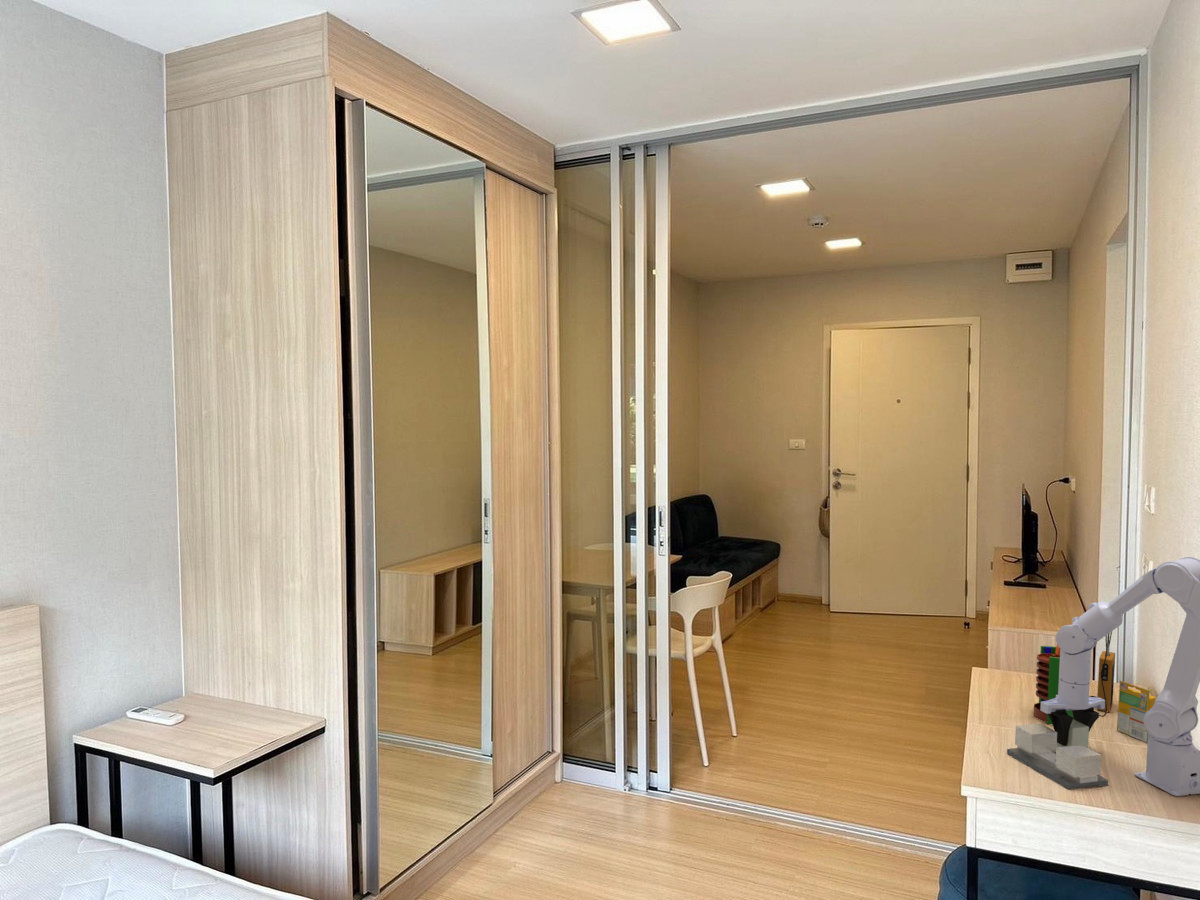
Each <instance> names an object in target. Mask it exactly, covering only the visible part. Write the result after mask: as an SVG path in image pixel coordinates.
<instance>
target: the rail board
mask: <svg viewBox="0 0 1200 900" xmlns="http://www.w3.org/2000/svg"><path fill="white" fill-rule="evenodd" d="M1014 745H1015V746H1017V747H1015V748H1014V747H1012V748H1007V749H1006V754H1007V755H1009V756H1010V757H1012V758H1014V759H1016V760H1018V761H1019V762H1021V763H1022V764H1024V765H1026V766H1028V767H1029V768H1031V769H1033V770H1035V771H1036V772H1037V773H1040V774H1042V775H1043V776H1045V777H1047V778H1048V779H1050V780H1051V781H1053V782H1055V783H1057V784H1058V785H1060V786H1062V787H1063V788H1065V789H1067V790H1076V789H1077V790H1078V789H1084V788H1085V787H1087V788H1093V787H1094V786H1096V787H1103V786H1108V785H1109V779H1107V778H1106V777H1103V776H1102V775H1101V770H1102V769H1101V768H1102V754H1101V753H1098V752H1097V751H1095V750H1093V749H1091V748H1089V747H1088V748H1087V747H1085V746H1083V745H1077V746H1066V747H1057V748H1056V745H1057V732H1056V731H1054V729H1052V728H1049V727H1047V726H1046V725H1043V724H1042V723H1032V724H1031V723H1030V724H1021V725H1015V735H1014Z"/></svg>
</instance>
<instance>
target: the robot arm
mask: <svg viewBox="0 0 1200 900" xmlns="http://www.w3.org/2000/svg"><path fill="white" fill-rule="evenodd" d="M1163 593H1165V594H1166V595H1167V596H1168V597H1170V598H1171V599H1173V600H1174V601H1175V602H1177V603H1178V604H1179V606H1180V607H1181V609H1182V610H1183V611H1184V612H1185V614H1186V615H1185V618H1184V622H1183V625H1182V629H1181V630H1180V631H1181V632H1180V634H1179V638H1178V639H1177V640H1178V641H1177V645H1176V648H1175V650H1174V654H1173V658H1172V660H1171V664H1170V667H1169V670H1168V673H1167V676H1166V680H1165V682H1164V685H1163V688H1162V690H1161V691H1160V693H1159V694H1158V696H1157V698H1156V700H1155V703H1154V706H1153V707H1152V708H1151V709H1150V710H1149V711H1147V712H1146V714H1145V716H1144V726H1145V728H1146V730H1147V732H1148V742H1147V744H1146V745H1147V748H1146V749H1147V750H1146V765H1145V771H1141V772H1135V773H1134V776H1135V777H1137V778H1139V779H1140V780H1143V781H1144V782H1147V783H1149V784H1151V785H1153V786H1155V787H1157V788H1158V789H1161V790H1163V791H1165V792H1166V793H1168V794H1171V795H1172V796H1174V797H1182V796H1189V794H1191V795H1198V794H1200V750H1199V748H1197V747H1196V746H1195V745H1194V743H1193V735H1192V734H1191V731H1193V730H1195V729H1196V727H1197V726H1198V723H1199V716H1198V715H1199V714H1198V713H1197V712H1198V711H1197V708H1198V704H1199V701H1198V698H1197V696H1196V695H1197V692H1198V688H1199V686H1200V559H1199V558H1196V557H1193V556H1186V557H1181V558H1179V559H1176V560H1171V561H1164V562H1163V563H1160V564H1159V565H1158V566H1157V567H1155V568H1153V569H1150V570H1149V571H1147V572H1146V573H1144V574H1142V575H1141V576H1140V577H1138V579H1136V581H1134V582H1132V584H1130V585H1129V586H1128V587H1127V588H1126V589H1125V590H1123V591H1122V592H1121V593H1119V594H1118V595H1117V596H1115V598H1113V599H1112V600H1111V601H1110V602H1107V601H1099V602H1097V601H1095V602H1092V603H1090V604H1089V605H1088V607H1087V608H1089V609H1088V610H1087V611H1085V612H1084V613H1083V614H1081V615H1080V616H1075V617H1073V618H1072V619H1071V621H1072V623H1071V624H1066V625H1062V626H1061V627H1060V628H1059V629H1058V631H1057V632H1056V635H1055V641H1056V645H1057V644H1058V646H1059V647H1060V665H1059V686H1058V695H1056V698H1054V699H1051V700H1048V701H1043V702H1041V708H1040V710H1041V711H1042V712H1045V713H1047V714H1048V716H1049V718H1050V720H1051V722H1052V724H1053V725H1052V727H1053V730H1054V731H1056V732H1057V743H1059V744H1061V745H1063V746H1067V743H1068V736H1069V729H1070V726H1071V723H1072V721H1073V719H1074V720H1076V721H1078V722H1080V723H1082V724H1084V725H1086V726H1088V727H1089V732H1090V731H1091V729H1092V727H1093V725H1094V724H1095V722H1096V721H1097V720H1098V719H1099V718H1100V716H1099V715H1100V713H1099V712H1098V711H1096V710H1095V709H1097V708H1099V709H1105V700H1103V699H1101V698H1099V697H1097V696H1096V697H1089V696H1090V682H1091V663H1092V661H1091V659H1092V650H1093V649H1094V648H1095V647H1096V645H1097V644H1098V642H1099V641H1100V640H1102V639H1104V637H1105V638H1106V635H1107V636H1108V634H1109V633H1110V634H1111V631H1112V632H1113V631H1115V630H1116V629H1117V628H1119V627H1120V626H1122V624H1123V621H1124V620H1123V618H1124V615H1125V614H1126V613H1127V612H1129V611H1130V610H1132V609H1133V608H1135V607H1136V606H1137V605H1139V604H1141V603H1143V601H1145V600H1147V599H1148V598H1149V597H1151V596H1153V595H1158V594H1163ZM1110 634H1109V635H1110ZM1070 710H1072V712H1073V717H1074V718H1073V717H1071V716H1069V715H1068V713H1066V711H1070Z"/></svg>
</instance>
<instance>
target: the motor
mask: <svg viewBox="0 0 1200 900" xmlns="http://www.w3.org/2000/svg"><path fill="white" fill-rule="evenodd" d="M1036 660H1038V661H1036V667H1037V669H1036V671H1035V673H1036V675H1037V676H1036V677H1035V679H1036V683H1035V688H1036V690H1035V696H1036V697H1037V698H1038V702H1036V703H1034V705H1033V717H1034V716H1035V717H1036V719H1037V718H1038V720H1039V719H1040V721H1041V720H1042V721H1041V722H1045V721H1046V722H1045V723H1046V724H1047V725H1050V724H1052V722H1051V720H1050V718H1049V716H1048V714H1047V713H1045V712H1042V711H1041V710H1040V708H1041V702H1043V701H1048V700H1051V699H1054V698H1056V695H1058V686H1059V665H1060V647H1059V646H1058V644H1057V643H1056V646H1051V645H1040V653H1039V654H1037V655H1036ZM1066 713H1068V715H1069V716H1071V717H1073V712H1072V710H1070V711H1066ZM1035 717H1034V718H1035ZM1073 718H1074V717H1073Z"/></svg>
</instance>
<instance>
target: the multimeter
mask: <svg viewBox="0 0 1200 900" xmlns="http://www.w3.org/2000/svg"><path fill="white" fill-rule="evenodd" d="M1112 634H1113V631H1111V632H1110V633H1109V634H1107V635H1106V636H1105V650H1103V651H1102V652H1101V654H1100V656H1099V659H1098V679H1097V693H1096V694H1097V695H1089V697H1099V698H1101V699H1103V700H1105V709H1099V708H1096V710H1097V711H1101V712H1104V715H1100V714H1099V717H1106V715H1107V713H1110V712H1111V709H1112V707H1113V700H1114V699H1113V698H1114V687H1115V686H1114V683H1115V666H1116V665H1115V664H1116V652H1112V651H1111V652H1110V645H1111V640H1112Z"/></svg>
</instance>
